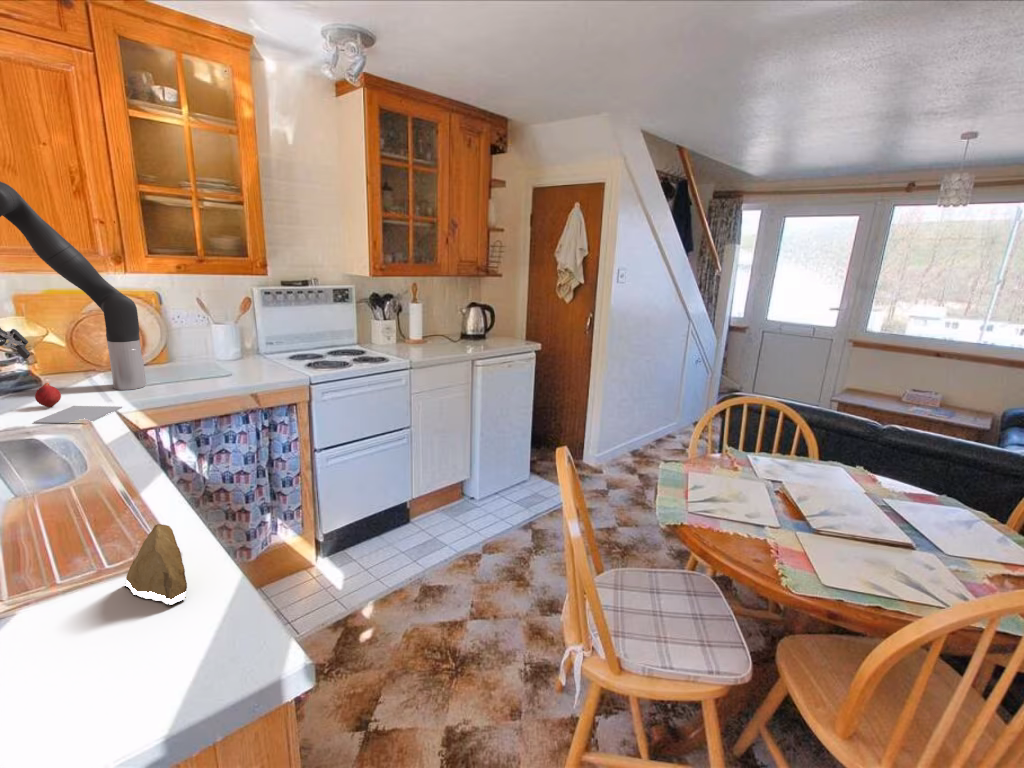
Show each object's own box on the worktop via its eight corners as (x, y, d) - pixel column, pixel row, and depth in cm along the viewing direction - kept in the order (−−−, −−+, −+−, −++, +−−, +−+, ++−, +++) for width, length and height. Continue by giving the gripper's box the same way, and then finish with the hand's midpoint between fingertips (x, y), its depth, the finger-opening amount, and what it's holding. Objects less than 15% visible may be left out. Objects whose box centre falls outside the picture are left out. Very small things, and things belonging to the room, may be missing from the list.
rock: (207, 585, 75) (203, 545, 83) (160, 559, 70) (160, 518, 78) (142, 638, 73) (144, 592, 80) (89, 615, 68) (96, 568, 75)
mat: (73, 406, 156) (73, 405, 156) (122, 407, 158) (122, 406, 158) (32, 423, 141) (32, 422, 141) (86, 424, 143) (86, 422, 142)
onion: (47, 411, 151) (42, 385, 149) (32, 409, 152) (27, 384, 150) (67, 406, 157) (63, 381, 155) (52, 404, 158) (48, 379, 156)
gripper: (-51, 313, 144) (-10, 355, 145) (6, 309, 157) (42, 348, 158) (-61, 330, 146) (-21, 371, 147) (-4, 324, 160) (32, 362, 161)
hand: (12, 359), depth 153 cm, fingers open, 8 cm apart
